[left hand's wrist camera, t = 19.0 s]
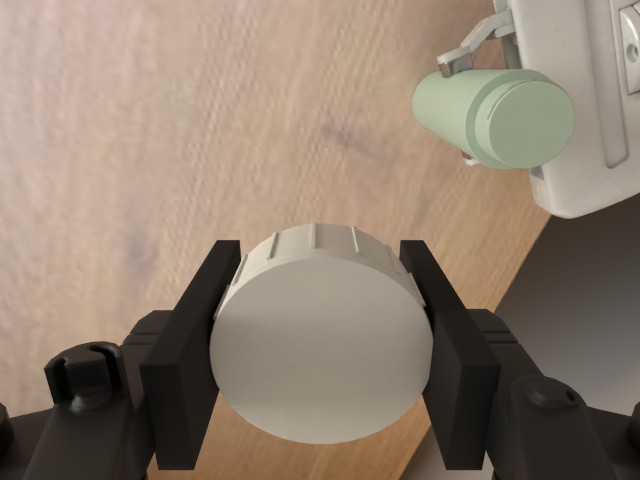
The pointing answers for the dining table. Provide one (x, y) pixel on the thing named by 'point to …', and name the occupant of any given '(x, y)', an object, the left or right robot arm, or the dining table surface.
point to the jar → (497, 115)
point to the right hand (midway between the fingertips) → (453, 113)
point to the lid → (321, 336)
